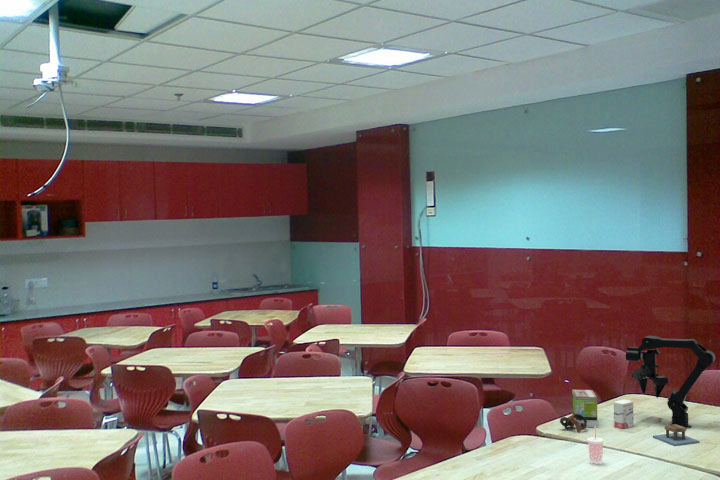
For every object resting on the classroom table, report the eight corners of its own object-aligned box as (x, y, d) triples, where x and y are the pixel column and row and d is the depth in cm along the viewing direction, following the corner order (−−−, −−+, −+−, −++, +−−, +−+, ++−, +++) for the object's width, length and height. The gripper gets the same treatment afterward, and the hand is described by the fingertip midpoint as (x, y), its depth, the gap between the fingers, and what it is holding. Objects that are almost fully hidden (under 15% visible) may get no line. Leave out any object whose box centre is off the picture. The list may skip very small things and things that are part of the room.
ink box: (622, 429, 304) (622, 403, 304) (613, 427, 308) (612, 401, 308) (634, 426, 309) (633, 401, 309) (625, 423, 313) (624, 399, 313)
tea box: (598, 428, 307) (597, 396, 307) (575, 427, 309) (575, 395, 309) (593, 419, 322) (592, 389, 322) (571, 418, 324) (571, 388, 324)
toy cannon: (578, 426, 312) (585, 413, 308) (584, 440, 303) (591, 427, 300) (554, 421, 310) (561, 408, 307) (560, 435, 302) (567, 422, 299)
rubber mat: (677, 434, 294) (676, 432, 294) (699, 442, 282) (699, 440, 282) (652, 437, 291) (652, 435, 291) (674, 446, 278) (674, 444, 278)
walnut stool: (676, 435, 290) (675, 424, 290) (686, 439, 284) (686, 427, 284) (664, 437, 288) (664, 425, 288) (675, 440, 283) (674, 429, 283)
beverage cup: (591, 458, 265) (590, 423, 265) (606, 461, 262) (605, 426, 262) (585, 462, 261) (584, 427, 261) (601, 465, 257) (600, 429, 257)
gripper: (622, 360, 321) (623, 392, 321) (649, 367, 303) (649, 401, 303) (641, 358, 324) (642, 390, 324) (669, 365, 306) (670, 399, 306)
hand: (650, 395), depth 314 cm, fingers open, 9 cm apart
